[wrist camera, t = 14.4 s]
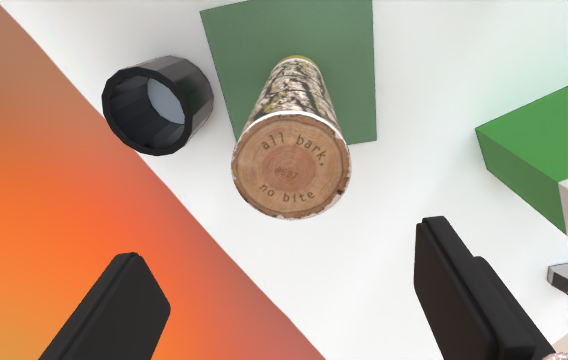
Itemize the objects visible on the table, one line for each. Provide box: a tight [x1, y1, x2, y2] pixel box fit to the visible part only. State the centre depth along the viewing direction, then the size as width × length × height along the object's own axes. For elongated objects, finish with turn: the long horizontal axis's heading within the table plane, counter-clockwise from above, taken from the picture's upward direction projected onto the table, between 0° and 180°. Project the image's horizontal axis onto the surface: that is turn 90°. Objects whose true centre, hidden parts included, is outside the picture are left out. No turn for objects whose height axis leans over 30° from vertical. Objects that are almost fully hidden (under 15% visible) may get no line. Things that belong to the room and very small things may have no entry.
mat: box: [200, 0, 377, 145], centre depth 38 cm, size 20×20×1 cm
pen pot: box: [102, 56, 213, 156], centre depth 36 cm, size 10×10×9 cm
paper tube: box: [231, 55, 351, 220], centre depth 27 cm, size 7×7×25 cm
